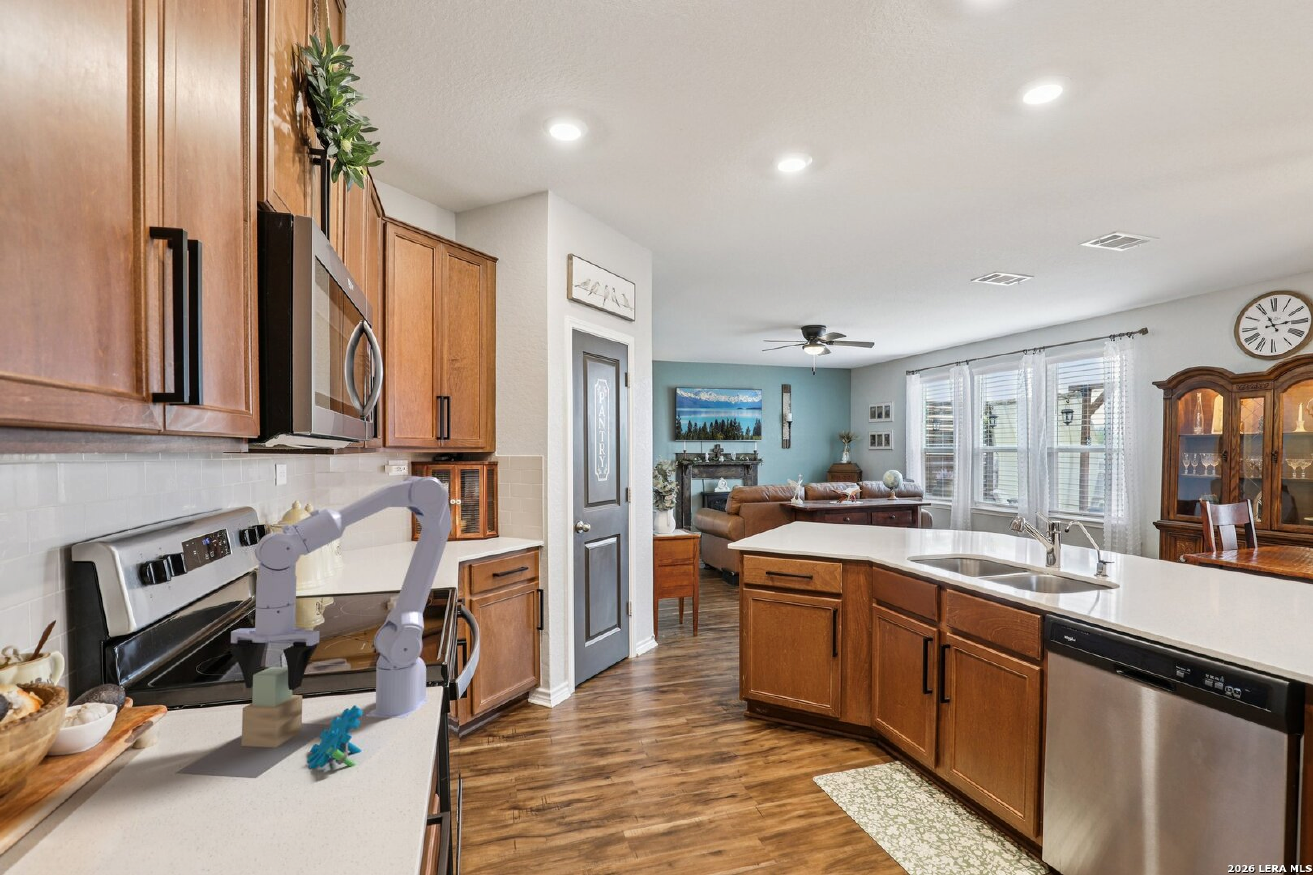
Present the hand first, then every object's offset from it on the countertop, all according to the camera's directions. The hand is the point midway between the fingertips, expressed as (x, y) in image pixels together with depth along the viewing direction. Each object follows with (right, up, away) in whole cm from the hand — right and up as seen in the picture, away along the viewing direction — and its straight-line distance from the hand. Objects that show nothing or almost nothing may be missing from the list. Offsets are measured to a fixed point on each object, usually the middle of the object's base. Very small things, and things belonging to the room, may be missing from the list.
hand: (273, 686), depth 101 cm
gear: (+14, -9, -7) cm, 18 cm away
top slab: (0, -5, 0) cm, 5 cm away
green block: (0, -2, 0) cm, 2 cm away
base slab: (0, -8, 0) cm, 8 cm away
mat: (0, -9, -3) cm, 10 cm away
